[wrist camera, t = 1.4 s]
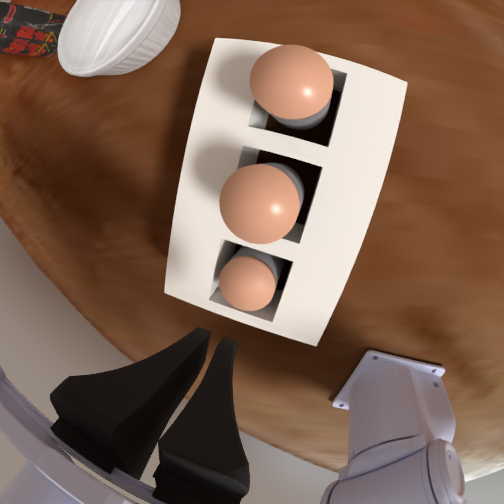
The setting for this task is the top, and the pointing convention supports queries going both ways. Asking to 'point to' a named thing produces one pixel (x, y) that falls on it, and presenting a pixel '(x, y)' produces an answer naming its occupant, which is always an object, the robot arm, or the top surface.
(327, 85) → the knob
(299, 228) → the white egg carton
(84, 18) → the ramekin
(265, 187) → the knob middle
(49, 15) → the deodorant
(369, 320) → the top surface
